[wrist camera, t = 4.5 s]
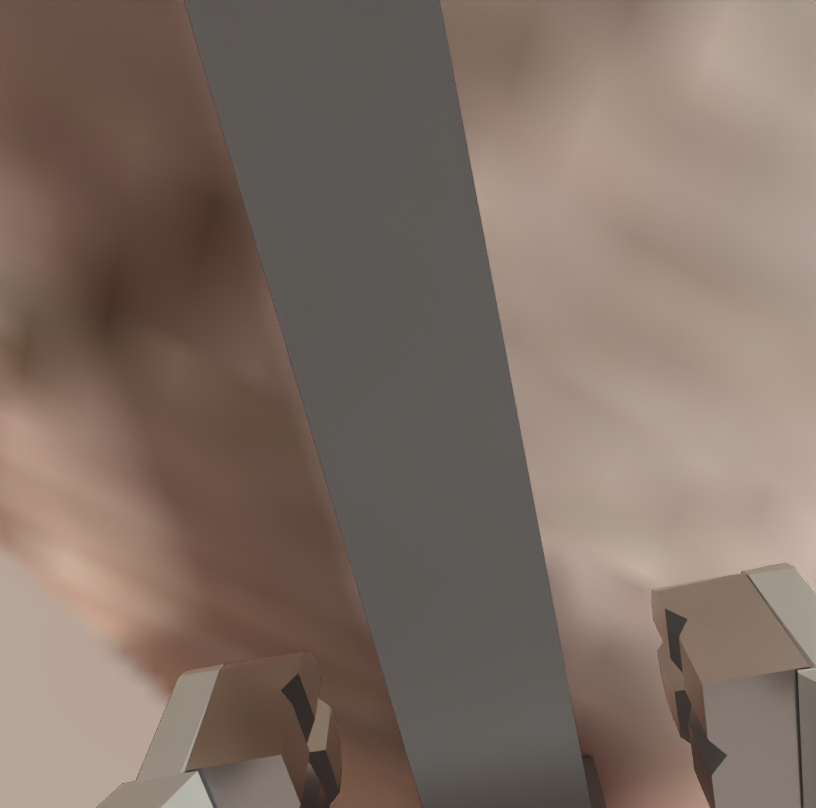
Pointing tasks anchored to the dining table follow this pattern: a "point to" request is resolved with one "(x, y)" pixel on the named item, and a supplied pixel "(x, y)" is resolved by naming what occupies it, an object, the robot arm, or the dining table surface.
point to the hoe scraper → (403, 377)
